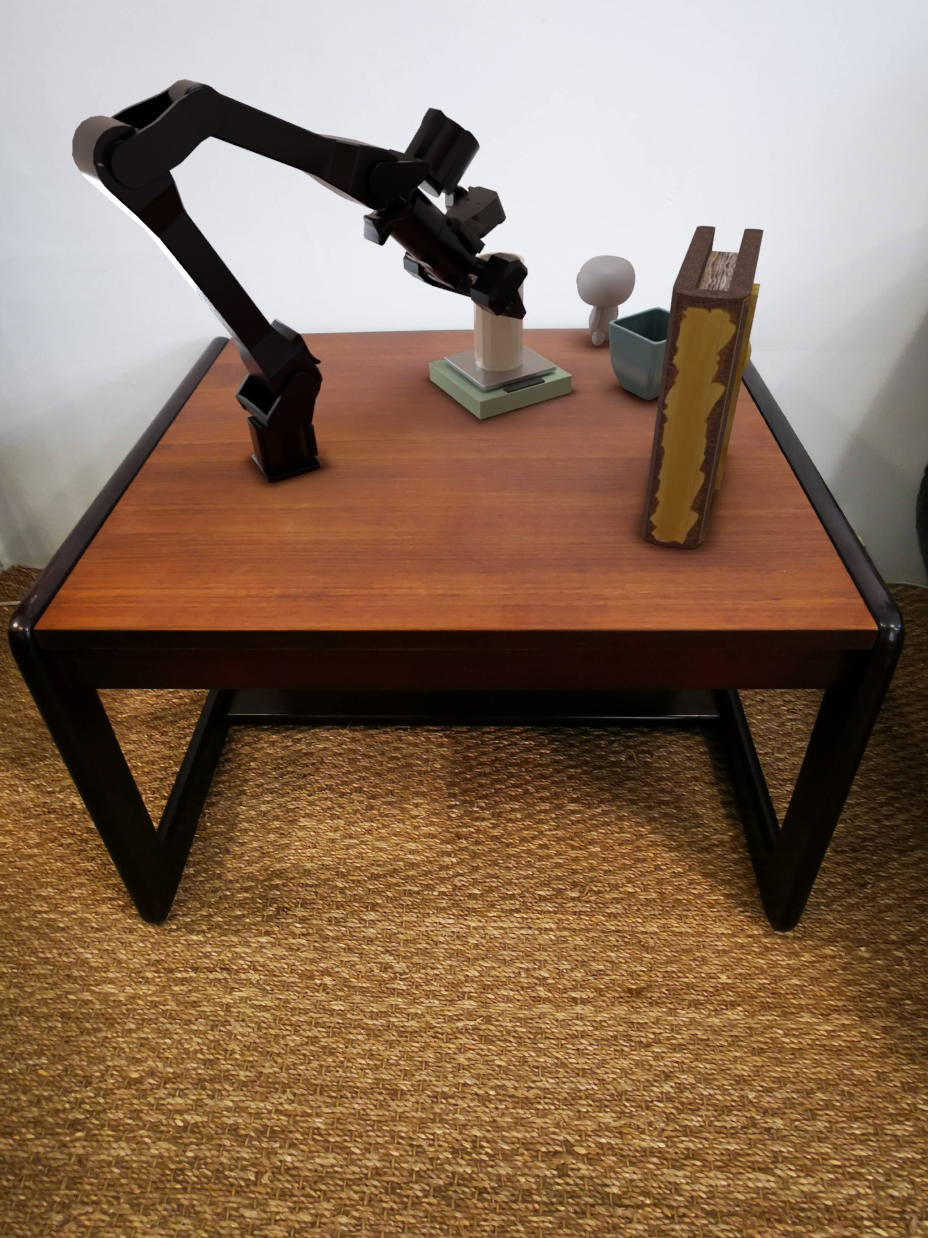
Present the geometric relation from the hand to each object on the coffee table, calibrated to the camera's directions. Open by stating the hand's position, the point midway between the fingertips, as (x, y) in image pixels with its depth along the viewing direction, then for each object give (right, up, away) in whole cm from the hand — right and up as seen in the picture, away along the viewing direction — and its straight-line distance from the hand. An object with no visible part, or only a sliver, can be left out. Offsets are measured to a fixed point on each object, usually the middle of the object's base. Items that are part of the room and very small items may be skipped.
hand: (500, 305), depth 105 cm
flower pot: (+20, -10, +5) cm, 23 cm away
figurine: (+16, +1, +17) cm, 23 cm away
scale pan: (0, -6, +5) cm, 8 cm away
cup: (0, -6, +5) cm, 7 cm away
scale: (0, -8, +7) cm, 11 cm away
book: (+20, -26, -14) cm, 35 cm away
